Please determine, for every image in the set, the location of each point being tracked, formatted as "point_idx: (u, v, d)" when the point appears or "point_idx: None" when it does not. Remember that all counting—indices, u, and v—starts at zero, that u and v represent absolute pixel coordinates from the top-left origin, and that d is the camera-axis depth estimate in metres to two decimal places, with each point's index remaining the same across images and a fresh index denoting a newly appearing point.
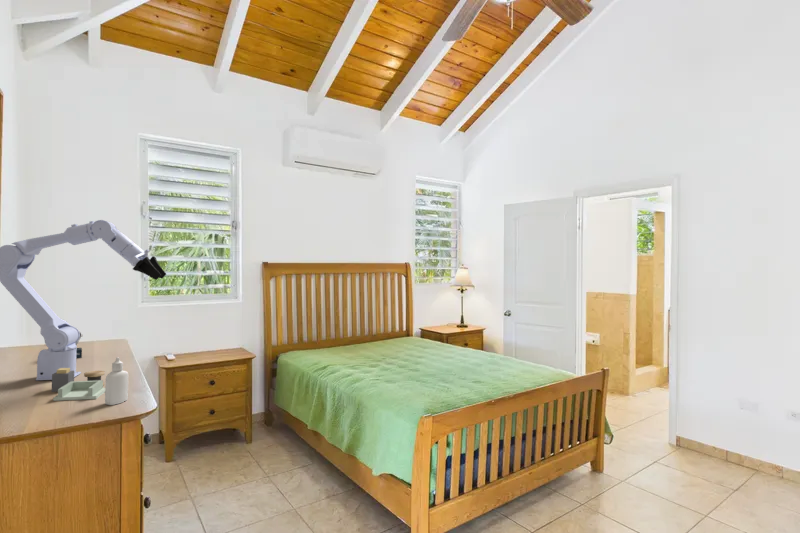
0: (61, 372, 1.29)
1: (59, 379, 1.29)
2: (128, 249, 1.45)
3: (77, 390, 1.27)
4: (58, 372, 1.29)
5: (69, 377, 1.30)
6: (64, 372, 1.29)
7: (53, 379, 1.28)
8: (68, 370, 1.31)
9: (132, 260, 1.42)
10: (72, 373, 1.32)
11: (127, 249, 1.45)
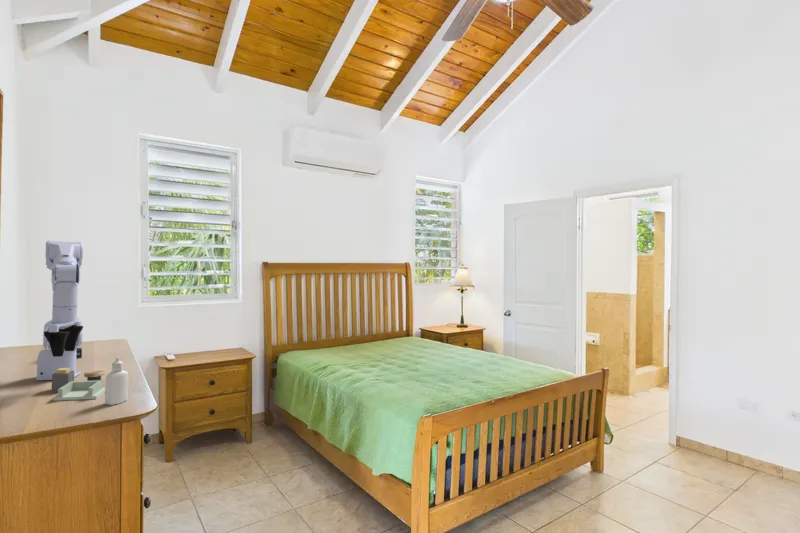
0: (61, 372, 1.29)
1: (59, 379, 1.29)
2: (63, 310, 1.28)
3: (77, 390, 1.27)
4: (58, 372, 1.29)
5: (69, 377, 1.30)
6: (64, 372, 1.29)
7: (53, 379, 1.28)
8: (68, 370, 1.31)
9: (51, 327, 1.23)
10: (72, 373, 1.32)
11: (62, 309, 1.28)
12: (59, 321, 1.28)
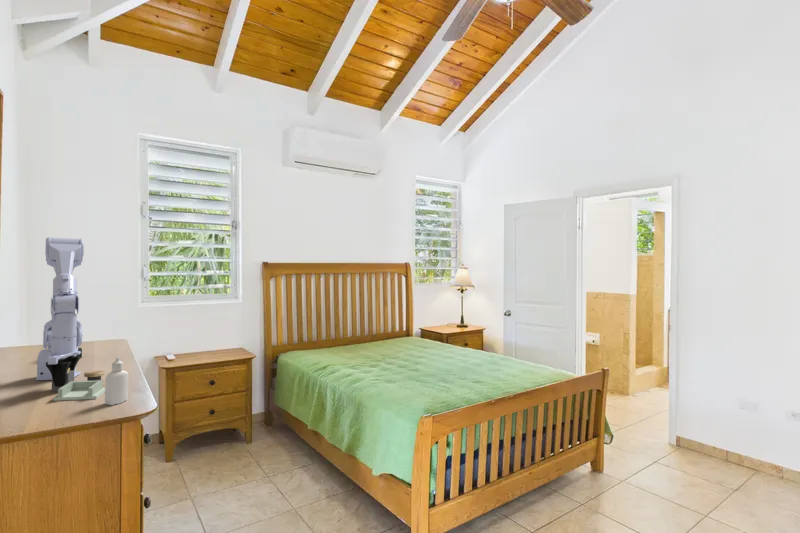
0: None
1: None
2: (62, 341, 1.28)
3: (77, 390, 1.27)
4: None
5: (69, 376, 1.30)
6: None
7: None
8: (68, 370, 1.31)
9: (50, 359, 1.23)
10: (72, 373, 1.32)
11: (61, 341, 1.28)
12: (58, 352, 1.28)
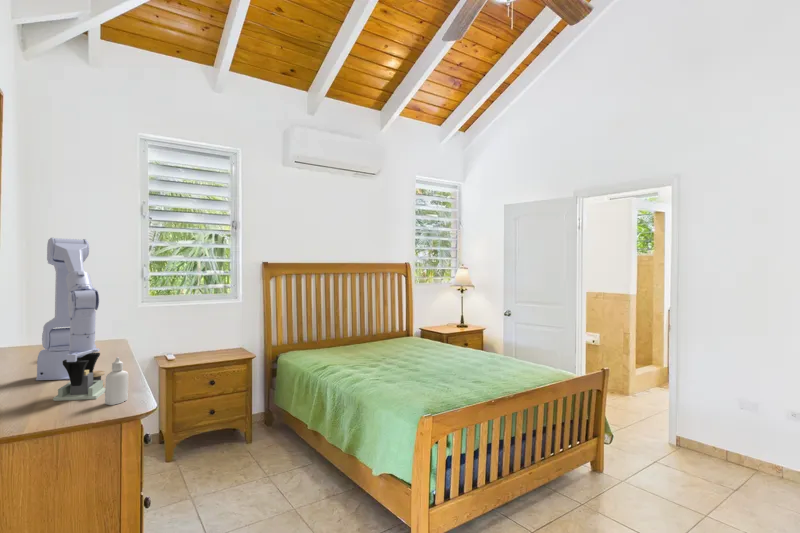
0: None
1: None
2: (80, 338, 1.23)
3: None
4: None
5: (88, 379, 1.25)
6: None
7: None
8: (87, 372, 1.26)
9: (69, 357, 1.18)
10: (91, 375, 1.27)
11: (80, 337, 1.23)
12: (77, 349, 1.23)
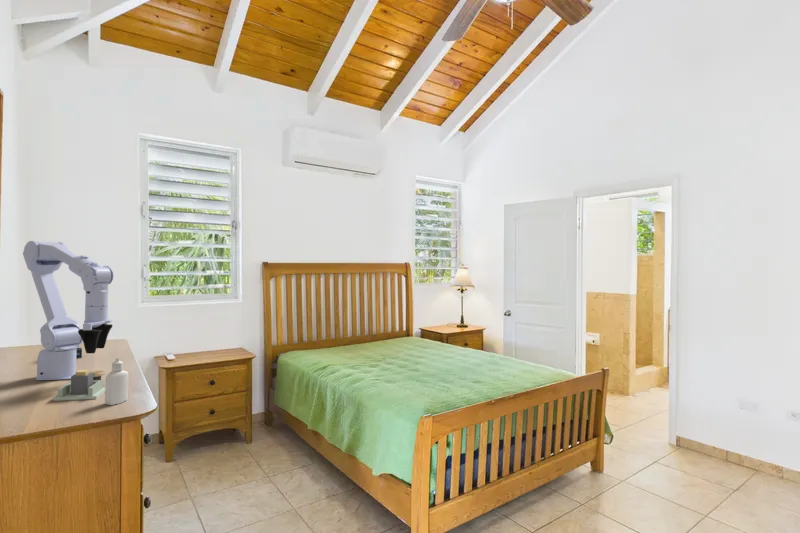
0: (80, 374, 1.25)
1: (78, 381, 1.24)
2: (95, 310, 1.35)
3: None
4: (77, 374, 1.24)
5: (88, 379, 1.25)
6: (83, 374, 1.25)
7: (72, 381, 1.23)
8: (87, 372, 1.26)
9: (85, 325, 1.31)
10: (91, 375, 1.27)
11: (94, 309, 1.35)
12: (92, 320, 1.35)
